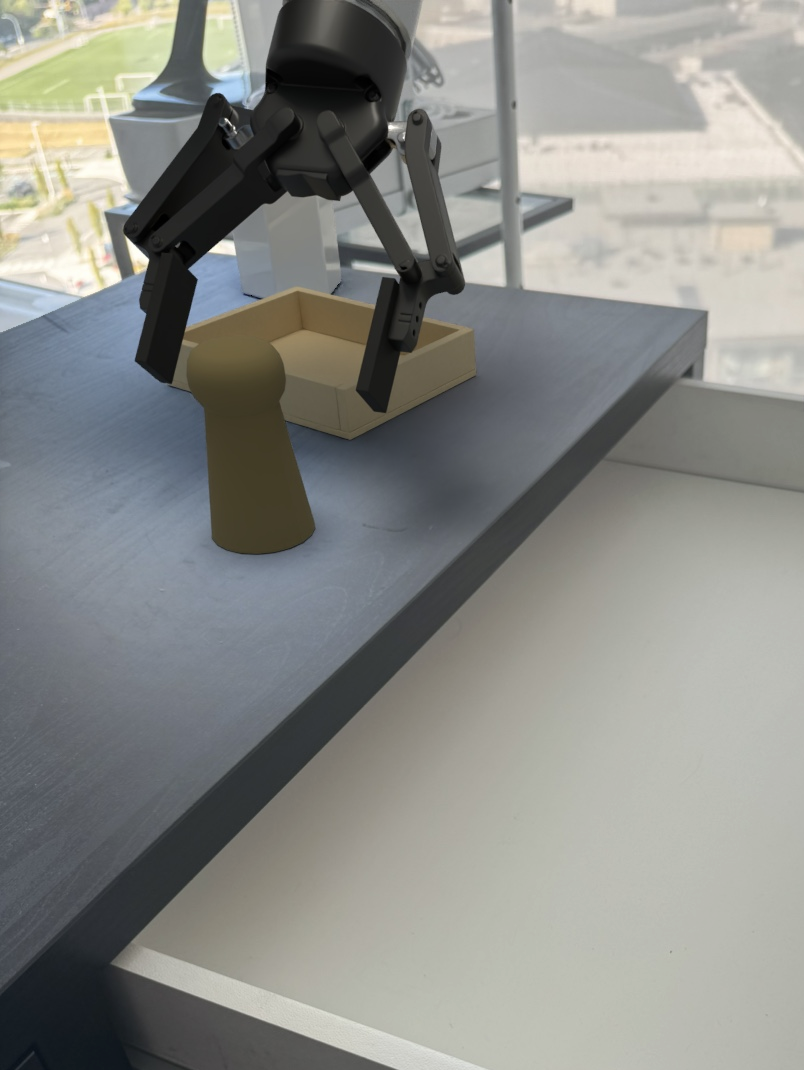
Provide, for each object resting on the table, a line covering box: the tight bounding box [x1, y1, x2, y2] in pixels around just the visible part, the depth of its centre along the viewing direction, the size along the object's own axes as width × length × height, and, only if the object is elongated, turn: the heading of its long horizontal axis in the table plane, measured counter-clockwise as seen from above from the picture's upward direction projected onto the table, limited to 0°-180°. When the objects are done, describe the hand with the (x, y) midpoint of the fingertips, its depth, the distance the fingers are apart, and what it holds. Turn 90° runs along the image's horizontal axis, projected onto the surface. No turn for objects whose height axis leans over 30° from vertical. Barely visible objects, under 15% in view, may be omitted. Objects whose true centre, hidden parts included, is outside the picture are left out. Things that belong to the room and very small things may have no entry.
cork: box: [186, 335, 316, 555], centre depth 66 cm, size 6×6×11 cm
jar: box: [231, 137, 342, 299], centre depth 100 cm, size 9×8×12 cm
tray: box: [167, 286, 477, 441], centre depth 86 cm, size 18×15×4 cm
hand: (259, 387), depth 66 cm, fingers open, 13 cm apart
